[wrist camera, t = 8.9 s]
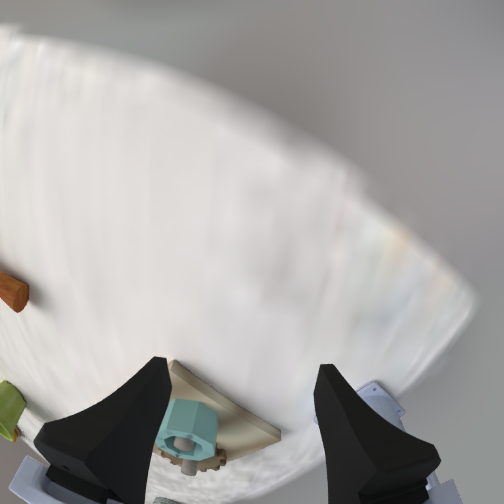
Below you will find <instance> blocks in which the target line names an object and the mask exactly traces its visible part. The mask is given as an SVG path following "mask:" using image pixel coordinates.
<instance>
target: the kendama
mask: <svg viewBox="0 0 504 504" xmlns="http://www.w3.org/2000/svg"><path fill="white" fill-rule="evenodd" d="M0 298H1V299H2V300H3V301H4V302H5V303H6V304H7V305H8V306H9V307H10V308H12V309H13V310H14V311H15V312H17V313H18V312H21V311H22V310H23V309H24V307H25V306H26V304H27V302H28V299H29V286H28V285H27V284H25V283H23V282H21V281H19V280H17V279H15V278H13V277H11V276H9V275H7V274H5V273H3V272H1V271H0Z"/></svg>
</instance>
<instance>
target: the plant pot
mask: <svg viewBox="0 0 504 504" xmlns="http://www.w3.org/2000/svg"><path fill="white" fill-rule="evenodd" d="M25 407H26V402H25V401H24V400H23V397H22V395H21V394H20V392H18V390H17V389H16V388H15V387H14V386H13V385H11V384H9V383H7V382H6V381H3V382H1V383H0V434H1V435H2V436H4V437H5V438H6V439H8V440H10V441H13V434H14V429H15V427H16V425H17V423H18V421H19V419H20V416H21V414H22V413H23V411H24V409H25Z"/></svg>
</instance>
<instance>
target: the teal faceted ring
mask: <svg viewBox="0 0 504 504" xmlns="http://www.w3.org/2000/svg"><path fill="white" fill-rule="evenodd" d="M217 432H218V416H217V412H215V411H213V410H212V409H210V408H209V407H207V406H206V405H204V404H203V403H201V402H200V401H193V400H185V399H177V398H175V399H174V400H172V401H170V402H169V405H168V408H167V410H166V413H165V416H164V418H163V421H162V424H161V426H160V429H159V432H158V435H157V437H156V440H155V442H156V444H157V447H158V448H160V449H162V450H164V451H165V452H167V453H169V454H171V455H173V456H175V457H177V458H183V459H190V460H197V461H200V460H203V459H206V458H209V457H212V456H214V453H215V446H216V439H217ZM176 436H177V437H183V438H189V439H191V440H193V441H194V445H193V449H192V450H191V451H183V450H180V449H177V448H176V447H175V446H174V441H175V438H176Z"/></svg>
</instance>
